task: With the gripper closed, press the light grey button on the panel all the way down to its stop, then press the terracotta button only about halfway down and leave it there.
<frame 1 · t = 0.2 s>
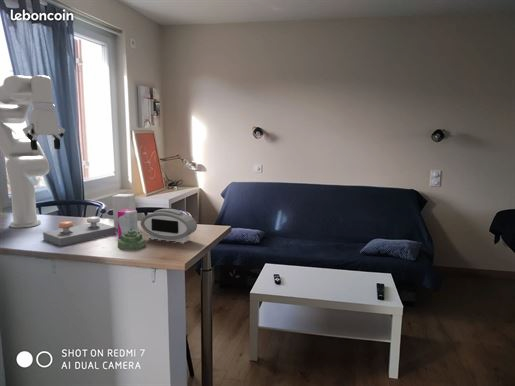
hand: (46, 149, 170), 36 cm above the table, tool pointing down, fingers open, 9 cm apart
supplement box: (128, 238, 172), on the table
grey button: (93, 223, 176), point 5 cm above the table, slide at 0.0 cm
skincare box: (125, 229, 187), on the table
button panel: (80, 236, 172), on the table
alarm clock: (168, 240, 170), on the table
terracotta button: (66, 228, 167), point 5 cm above the table, slide at 0.0 cm
decorative artifact: (131, 246, 160), on the table
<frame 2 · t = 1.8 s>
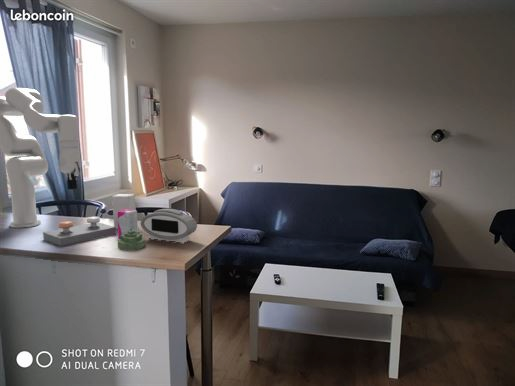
hand: (72, 188, 174), 19 cm above the table, tool pointing down, fingers closed
nothing on the table moved.
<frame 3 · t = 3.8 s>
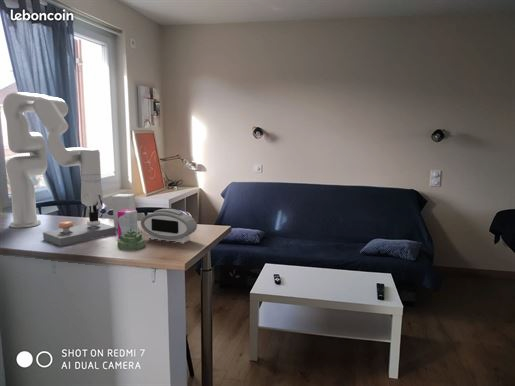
hand: (93, 220, 176), 6 cm above the table, tool pointing down, fingers closed
grey button: (93, 226, 176), point 3 cm above the table, slide at 1.3 cm, touching gripper
everything else where it was.
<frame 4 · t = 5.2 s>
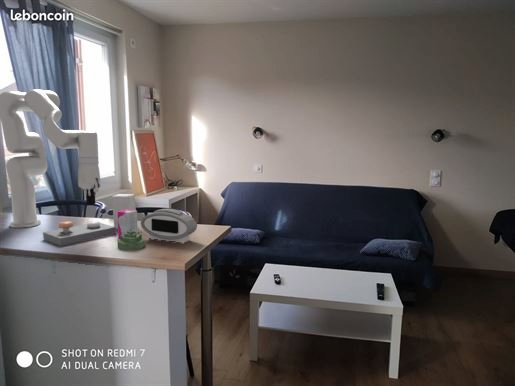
hand: (90, 204, 174), 13 cm above the table, tool pointing down, fingers closed
grey button: (93, 227, 177), point 3 cm above the table, slide at 2.1 cm
everything else where it was.
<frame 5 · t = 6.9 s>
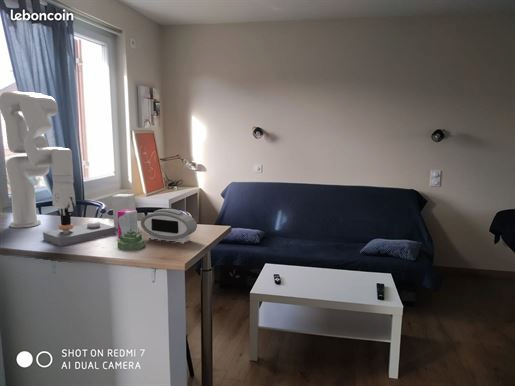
hand: (66, 224, 166), 6 cm above the table, tool pointing down, fingers closed
terracotta button: (66, 230, 167), point 4 cm above the table, slide at 0.7 cm, touching gripper
everything else where it was.
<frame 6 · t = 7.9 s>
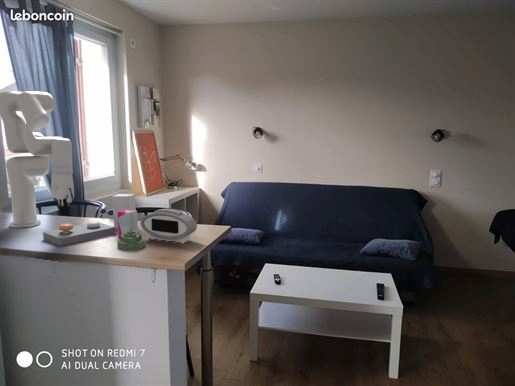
hand: (64, 214, 166), 10 cm above the table, tool pointing down, fingers closed
terracotta button: (66, 230, 167), point 4 cm above the table, slide at 0.9 cm
everything else where it was.
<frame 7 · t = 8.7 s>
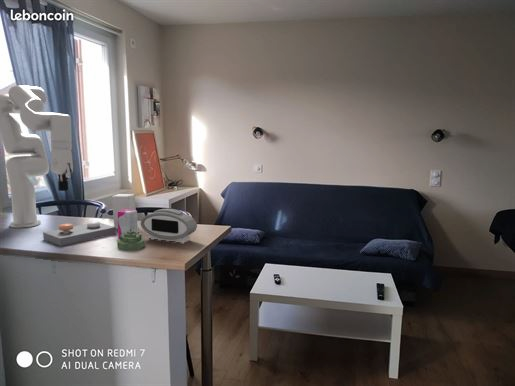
hand: (63, 190, 168), 20 cm above the table, tool pointing down, fingers closed
nothing on the table moved.
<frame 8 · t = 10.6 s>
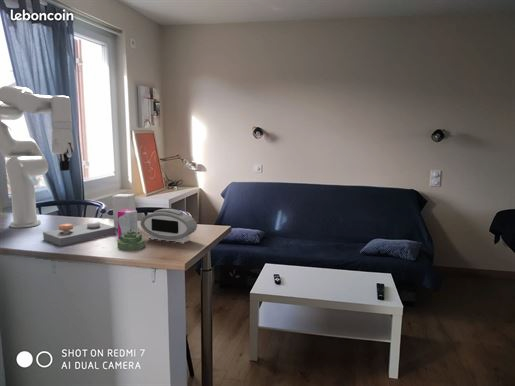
hand: (64, 170, 174), 27 cm above the table, tool pointing down, fingers closed
nothing on the table moved.
at the end: grey button slide at 2.1 cm; terracotta button slide at 0.9 cm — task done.
